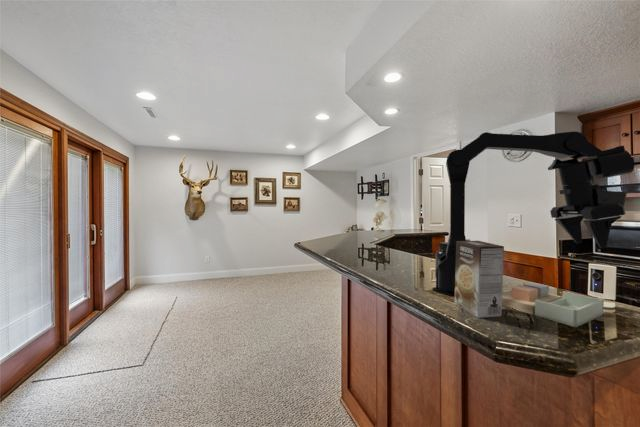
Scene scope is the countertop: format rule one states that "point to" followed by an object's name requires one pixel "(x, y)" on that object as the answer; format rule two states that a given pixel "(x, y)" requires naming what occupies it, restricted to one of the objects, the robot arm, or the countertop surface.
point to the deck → (525, 302)
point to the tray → (570, 309)
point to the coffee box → (479, 278)
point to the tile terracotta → (524, 293)
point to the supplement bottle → (440, 253)
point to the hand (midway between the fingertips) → (590, 245)
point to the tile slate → (539, 289)
